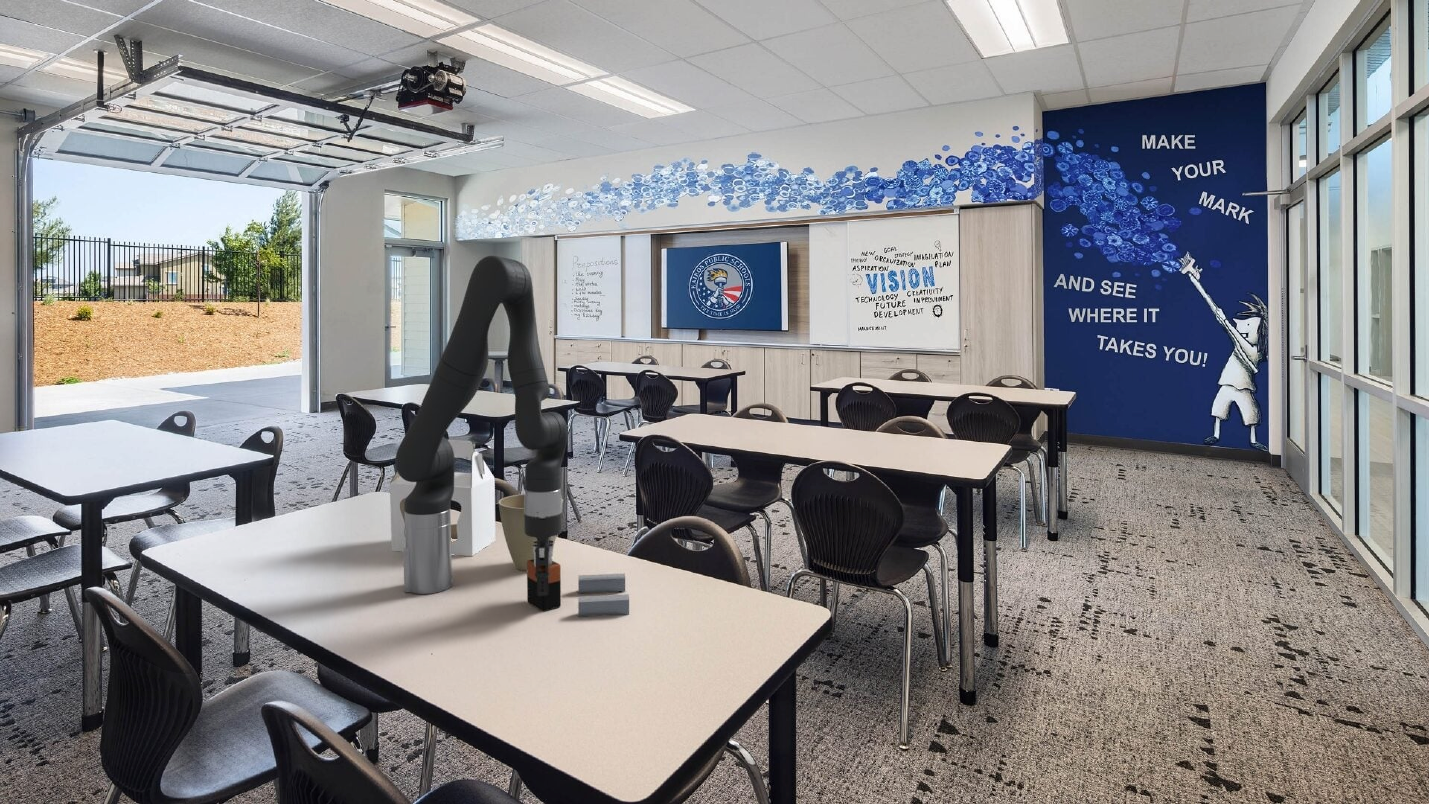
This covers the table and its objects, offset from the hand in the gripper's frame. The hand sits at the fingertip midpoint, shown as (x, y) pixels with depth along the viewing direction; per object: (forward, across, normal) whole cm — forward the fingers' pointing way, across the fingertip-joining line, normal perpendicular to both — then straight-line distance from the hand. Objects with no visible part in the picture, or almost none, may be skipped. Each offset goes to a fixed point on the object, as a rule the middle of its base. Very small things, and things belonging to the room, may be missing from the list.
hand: (543, 587), depth 155 cm
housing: (+4, 0, +12) cm, 13 cm away
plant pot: (+4, -26, -4) cm, 27 cm away
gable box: (+4, -45, -27) cm, 53 cm away
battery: (+4, 0, 0) cm, 4 cm away
